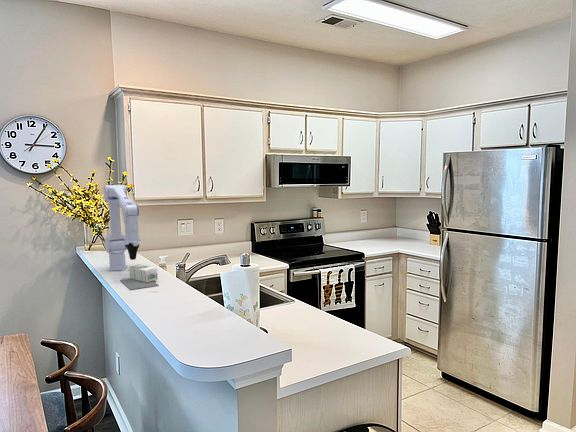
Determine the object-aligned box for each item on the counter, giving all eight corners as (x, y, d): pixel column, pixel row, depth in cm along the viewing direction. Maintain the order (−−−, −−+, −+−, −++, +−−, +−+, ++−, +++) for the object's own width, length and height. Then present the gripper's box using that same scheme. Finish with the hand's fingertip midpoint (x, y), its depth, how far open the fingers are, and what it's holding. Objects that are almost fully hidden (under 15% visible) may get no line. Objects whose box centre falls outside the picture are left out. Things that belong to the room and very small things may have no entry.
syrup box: (129, 278, 194) (147, 283, 185) (128, 266, 193) (145, 270, 184) (140, 275, 199) (158, 280, 190) (139, 263, 198) (157, 267, 189)
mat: (120, 280, 192) (120, 279, 192) (146, 277, 198) (146, 276, 198) (130, 290, 175) (130, 289, 175) (158, 285, 182) (158, 285, 181)
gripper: (144, 231, 188) (145, 260, 189) (136, 228, 200) (138, 256, 201) (128, 232, 184) (129, 262, 185) (121, 229, 196) (122, 257, 198)
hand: (133, 259), depth 193 cm, fingers closed
